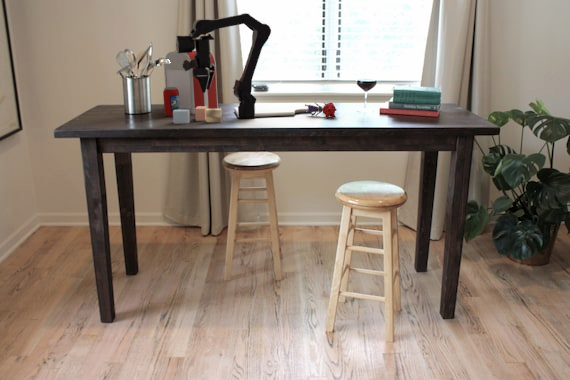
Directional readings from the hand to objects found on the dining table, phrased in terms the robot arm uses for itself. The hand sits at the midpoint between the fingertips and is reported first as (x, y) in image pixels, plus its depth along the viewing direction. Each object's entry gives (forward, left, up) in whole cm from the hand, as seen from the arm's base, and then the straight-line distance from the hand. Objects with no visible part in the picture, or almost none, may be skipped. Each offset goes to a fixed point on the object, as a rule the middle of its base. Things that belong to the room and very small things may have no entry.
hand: (206, 90), depth 250 cm
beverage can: (+17, -12, -12) cm, 24 cm away
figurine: (-47, -6, -13) cm, 49 cm away
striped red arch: (+11, -28, -12) cm, 33 cm away
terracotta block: (+3, -3, -12) cm, 13 cm away
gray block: (+10, +4, -12) cm, 16 cm away
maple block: (-3, +2, -12) cm, 13 cm away
